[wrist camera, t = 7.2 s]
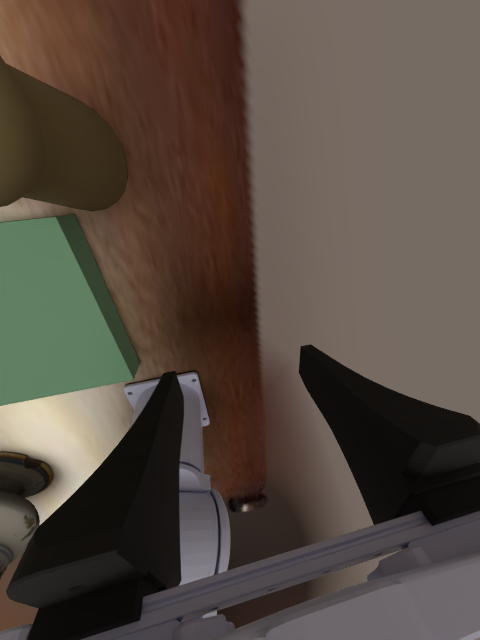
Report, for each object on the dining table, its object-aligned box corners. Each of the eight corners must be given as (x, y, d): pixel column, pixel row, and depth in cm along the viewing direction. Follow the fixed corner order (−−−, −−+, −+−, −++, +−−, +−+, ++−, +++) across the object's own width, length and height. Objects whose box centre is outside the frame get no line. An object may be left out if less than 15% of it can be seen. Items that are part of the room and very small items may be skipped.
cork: (62, 65, 12) (-445, -453, 2) (147, 173, 15) (65, 130, 5) (-6, 141, 13) (-566, -22, 3) (87, 229, 16) (-73, 273, 6)
